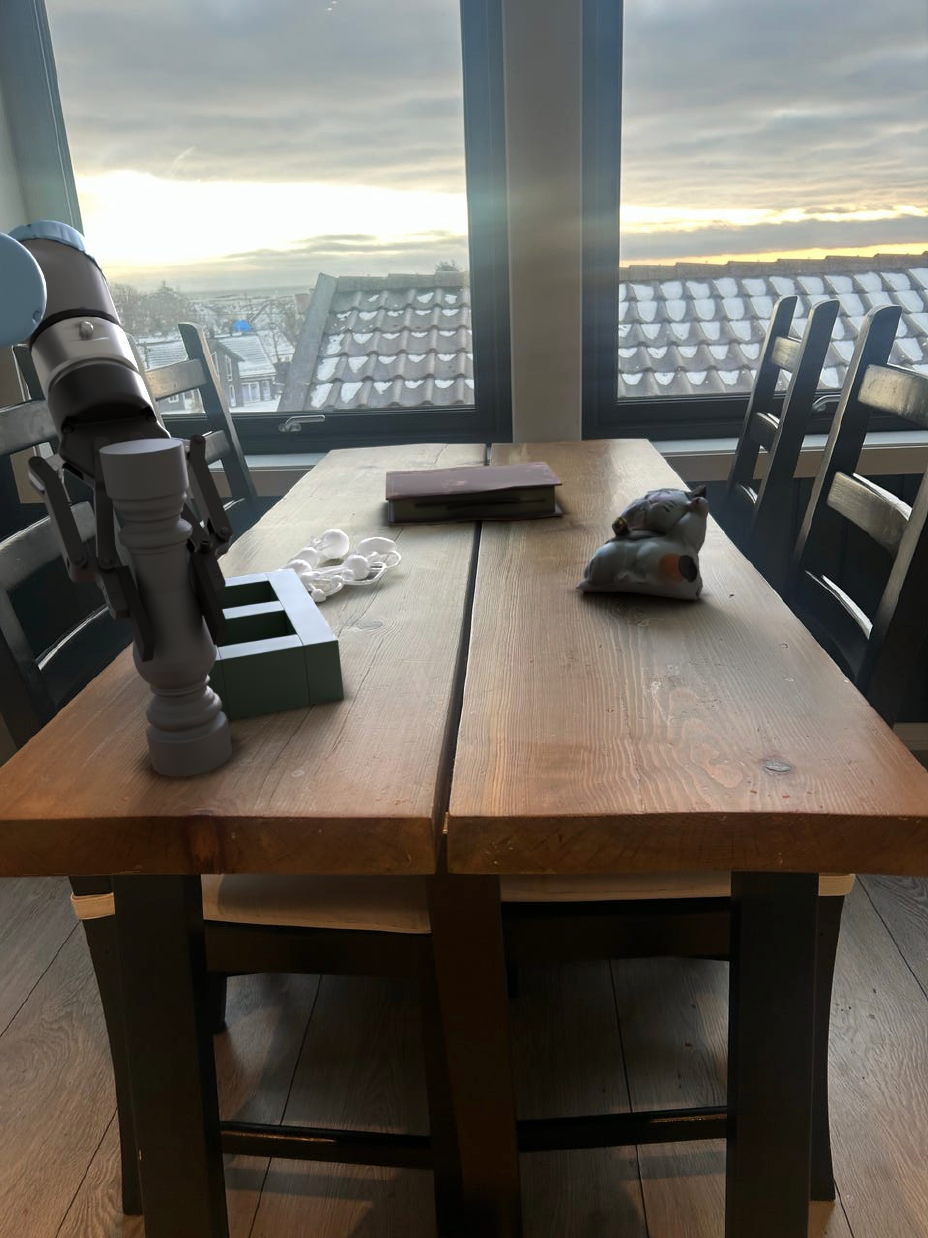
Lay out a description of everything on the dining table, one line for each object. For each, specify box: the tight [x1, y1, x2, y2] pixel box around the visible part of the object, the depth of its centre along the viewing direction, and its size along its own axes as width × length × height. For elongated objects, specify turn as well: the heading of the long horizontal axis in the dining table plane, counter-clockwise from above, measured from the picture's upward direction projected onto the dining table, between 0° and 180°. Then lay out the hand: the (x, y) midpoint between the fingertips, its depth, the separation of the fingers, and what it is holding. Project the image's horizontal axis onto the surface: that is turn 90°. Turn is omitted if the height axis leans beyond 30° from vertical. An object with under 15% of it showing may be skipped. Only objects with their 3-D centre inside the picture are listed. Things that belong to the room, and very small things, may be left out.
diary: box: [385, 460, 564, 526], centre depth 149 cm, size 19×25×5 cm
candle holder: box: [99, 439, 233, 777], centre depth 74 cm, size 6×6×25 cm
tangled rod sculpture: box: [275, 528, 403, 603], centre depth 119 cm, size 19×14×4 cm
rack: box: [207, 568, 345, 721], centre depth 95 cm, size 13×23×6 cm, turn 19°
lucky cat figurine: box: [574, 484, 710, 603], centre depth 108 cm, size 15×12×14 cm
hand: (185, 643), depth 72 cm, fingers closed on candle holder, 5 cm apart
